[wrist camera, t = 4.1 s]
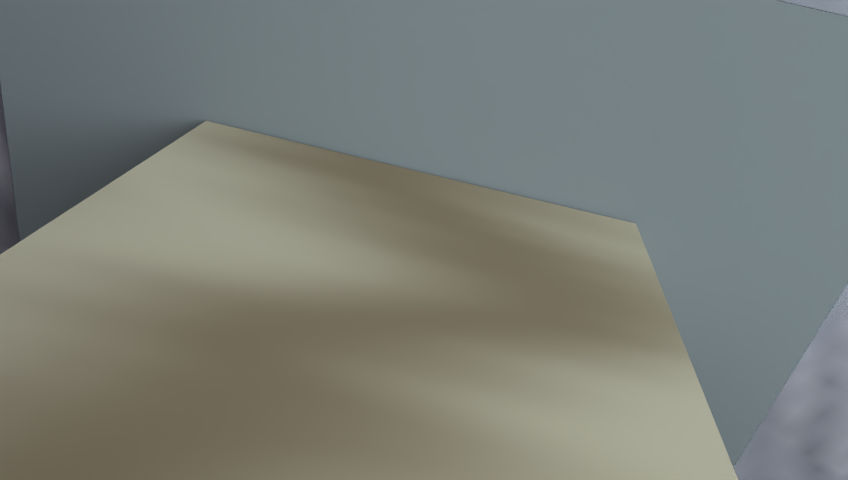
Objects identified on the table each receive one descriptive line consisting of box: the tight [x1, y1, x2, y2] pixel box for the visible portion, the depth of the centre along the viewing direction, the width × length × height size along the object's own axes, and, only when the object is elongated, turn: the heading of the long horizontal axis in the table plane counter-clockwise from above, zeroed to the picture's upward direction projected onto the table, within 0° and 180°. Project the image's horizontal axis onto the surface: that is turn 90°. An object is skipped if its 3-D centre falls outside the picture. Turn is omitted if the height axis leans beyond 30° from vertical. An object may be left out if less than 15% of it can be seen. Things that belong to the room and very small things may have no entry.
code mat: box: [0, 0, 848, 467], centre depth 10 cm, size 12×12×1 cm
